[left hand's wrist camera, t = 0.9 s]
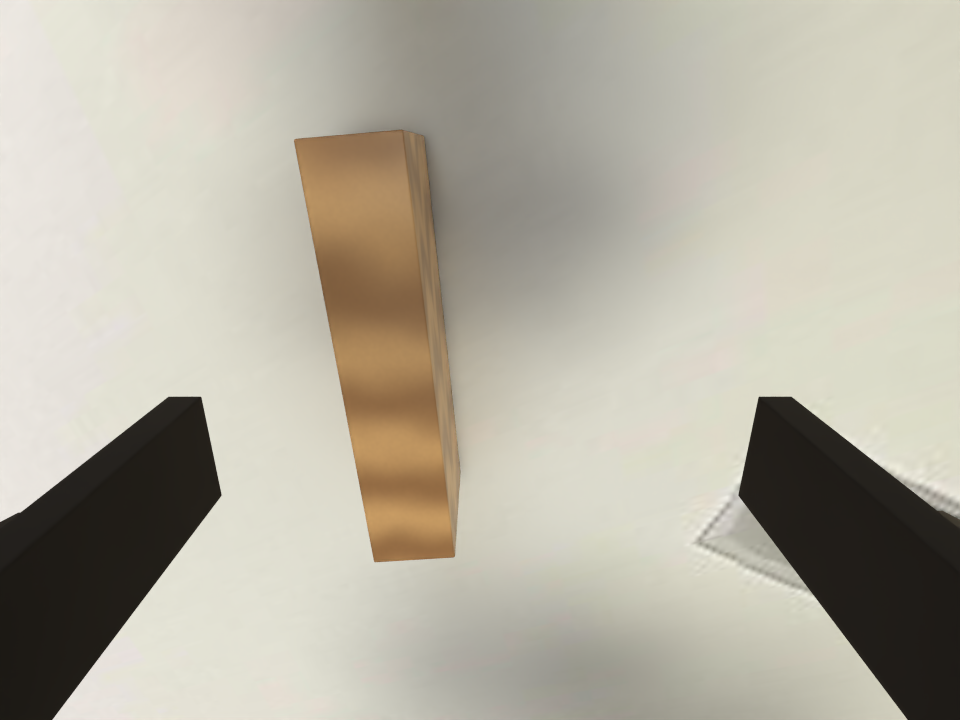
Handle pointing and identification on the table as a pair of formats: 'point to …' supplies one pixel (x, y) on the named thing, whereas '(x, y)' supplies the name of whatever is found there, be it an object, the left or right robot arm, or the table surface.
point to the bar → (387, 333)
